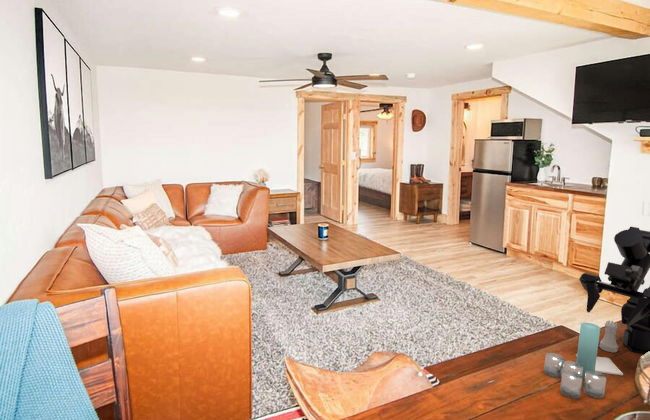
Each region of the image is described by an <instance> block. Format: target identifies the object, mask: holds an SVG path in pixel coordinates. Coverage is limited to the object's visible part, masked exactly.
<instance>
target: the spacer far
mask: <svg viewBox="0 0 650 420" xmlns="http://www.w3.org/2000/svg"><path fill="white" fill-rule="evenodd" d="M560 380H561V381H560V389H559V392H560V394H561V395H563V396H564V397H566V398H569V399H571V400H572V399H573V400H577V399H580V398H581V393H582V387H583V380H584V379H583V378H582V376H581V375H579V374H578V373H575V372H572V371H563V372H562V377H561V379H560Z"/></svg>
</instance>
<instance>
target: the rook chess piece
mask: <svg viewBox="0 0 650 420" xmlns="http://www.w3.org/2000/svg"><path fill="white" fill-rule="evenodd" d="M604 326H605V329H604V331H605V332H604V336H603V337H602V339H601V340H599V341H600V342H599V344H598V347H599V348H600V349H601V350H602V351H605V352H608V353H612V354H613V353H617V352H618V351H619V345H618V342H617V338H616V336H617V333H618V331H617V330H618V329H619V326H618V323H617V322H616V321H615V322H614V320H606V323H604Z"/></svg>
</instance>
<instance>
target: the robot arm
mask: <svg viewBox="0 0 650 420" xmlns="http://www.w3.org/2000/svg"><path fill="white" fill-rule="evenodd" d="M613 239H614V240H613V241H614V243H615V244H616V247H617V249H618V251H619V253H620V255H621V256H622V258H623V261H622V262H621V264H619V263H613V262H610V261H609V262H607V265H606V268H605V271H604V275H607V279H608V281H609V282H610V283H608V282H604V281H602V278H601V277H600V276H599V275H596V274H593V273H589V272H584V273H582V274H581V275H580V276H579V278H578V280H579V282H580V283H581V285H582V287H583V290H585V291H586V292H587V301H586V312H587V313H589V314H590V313H591V311H592V310H593V309H594V307H595V306H596V304H597V302H598V301H599V299H600V298H601V295H600V294H601V293H602V292H603V291H606V292H611V293H613V294H616V295H617V294H618V295H620V296H624V297H628V299H627V300H626V302H625V303H623V305H622V307H621V310H620V316H621V324H622V325H626V328H625V329H624V330H623V331H624V332H623V339H622V340H621V343H622V344H624V345H625V346H626V348H628V349H629V350H630V351H631V352H633V353H641V354H647V353H646V352H648V351H650V285H649V286H648V287H647V288H644V289H643V292H642V291H639V289H640V287H641V286H643V285H644V284H645V277H646V276H647V274H648V272H649V270H650V231H649V230H642V229H640V228H639V227H636V226H630V227H629V228H628V229H623V230H621V231H618V232H617V233H616V234H615V235H614V237H613Z"/></svg>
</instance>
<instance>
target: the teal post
mask: <svg viewBox="0 0 650 420" xmlns="http://www.w3.org/2000/svg"><path fill="white" fill-rule="evenodd" d="M600 332H601V327H600V326H599V325H598V324H594V323H590V322H581V323H580V329H579V335H578V336H579V337H578V345H577V353H576V354H577V357H576V361H575V362H577V363H579V364H581V365H582V366H583V372H582V378H583V379H582V380H585V373H586V371H588V370H592V371H595V366H596V358H597V357H598V350H599V348H598V347H599V344H600V342H599V341H600V334H601V333H600Z"/></svg>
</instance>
